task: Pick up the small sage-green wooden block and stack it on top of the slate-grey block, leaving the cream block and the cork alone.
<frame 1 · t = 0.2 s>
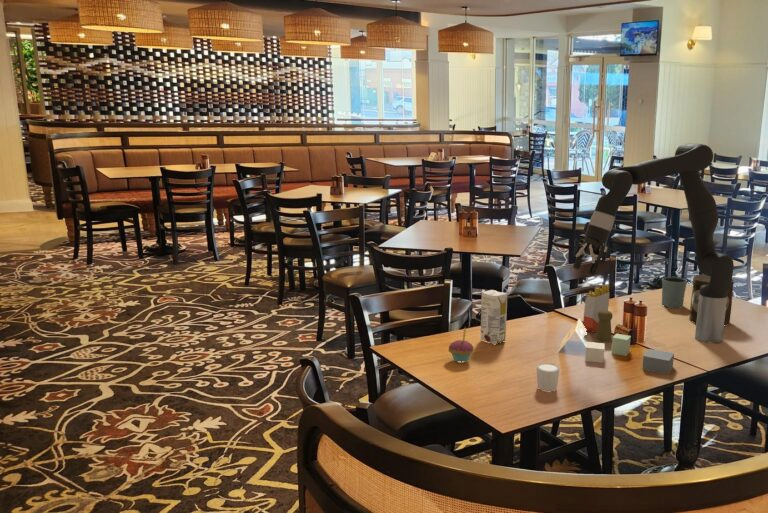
hand: (583, 271, 219), 30 cm above the table, tool tilted 20°, fingers open, 8 cm apart
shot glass: (546, 389, 199), on the table
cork: (603, 339, 242), on the table
wooden container: (709, 321, 262), on the table
slate block: (657, 368, 214), on the table
cupcake: (460, 361, 222), on the table
green tapered bucket: (672, 305, 284), on the table
juice carton: (492, 341, 240), on the table
cream block: (594, 359, 223), on the table
sage block: (620, 352, 228), on the table
french fries container: (594, 330, 253), on the table
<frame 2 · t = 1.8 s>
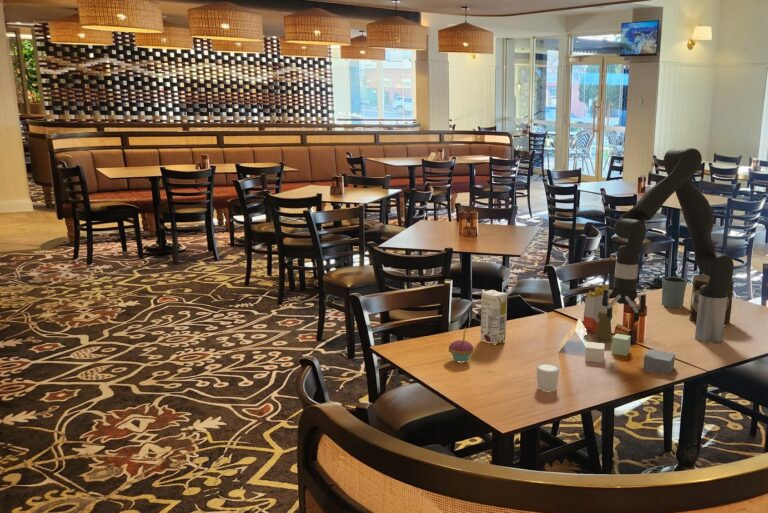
hand: (622, 320, 226), 12 cm above the table, tool pointing down, fingers open, 8 cm apart
nothing on the table moved.
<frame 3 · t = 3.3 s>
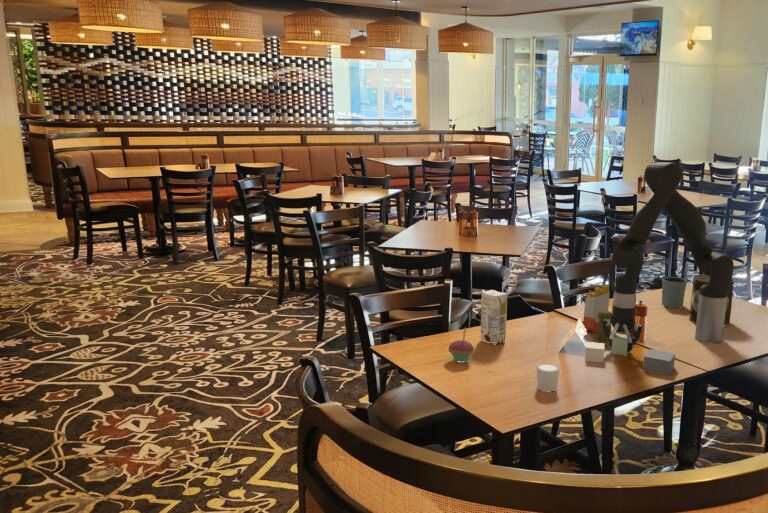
hand: (620, 349, 228), 1 cm above the table, tool pointing down, fingers closed on sage block, 5 cm apart
sage block: (620, 352, 228), on the table, touching gripper
everything else where it was.
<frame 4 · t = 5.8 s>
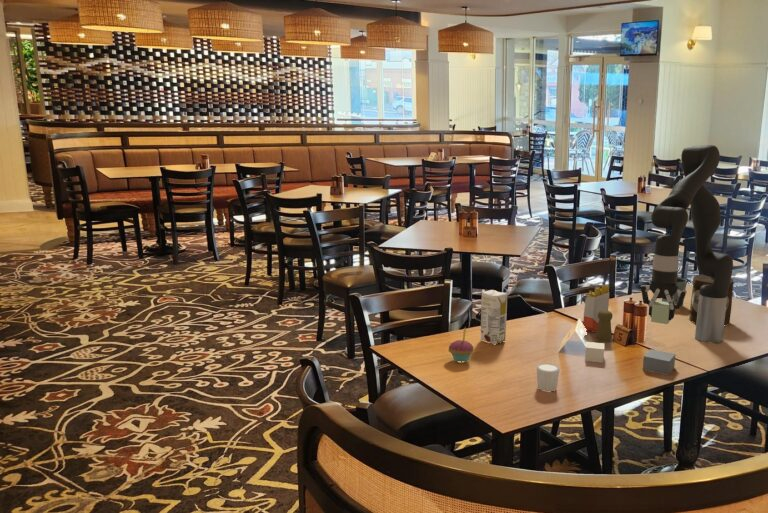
hand: (660, 318, 210), 17 cm above the table, tool pointing down, fingers closed on sage block, 5 cm apart
sage block: (660, 320, 211), point 16 cm above the table, touching gripper
everything else where it was.
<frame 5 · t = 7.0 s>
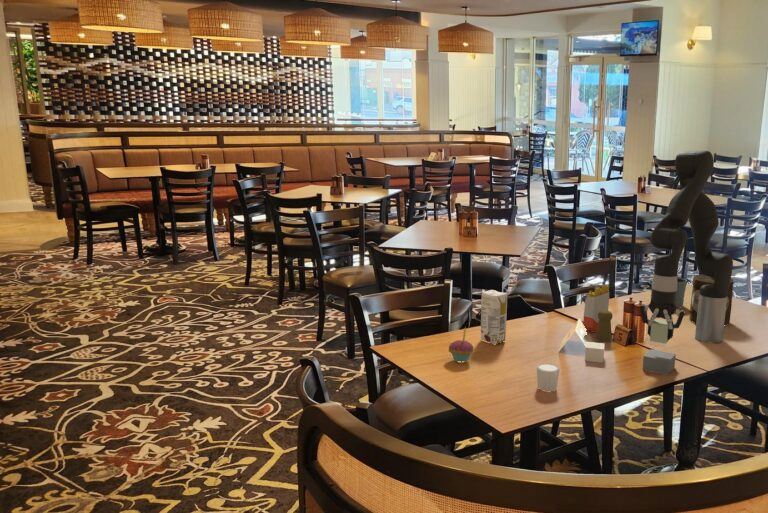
hand: (659, 337, 212), 11 cm above the table, tool pointing down, fingers closed on sage block, 5 cm apart
sage block: (659, 340, 212), point 10 cm above the table, touching gripper
everything else where it was.
when the fingers open (7 cm above the table, at t = 8.2 s): sage block drops 1 cm, resting on slate block.
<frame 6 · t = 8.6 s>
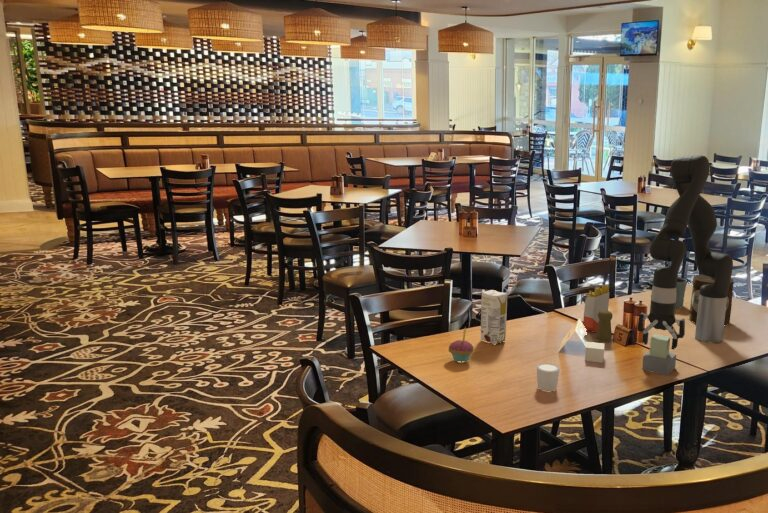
hand: (659, 346, 212), 8 cm above the table, tool pointing down, fingers open, 8 cm apart
slate block: (658, 369, 213), on the table, touching sage block
sage block: (659, 354, 213), point 5 cm above the table, touching slate block
everything else where it was.
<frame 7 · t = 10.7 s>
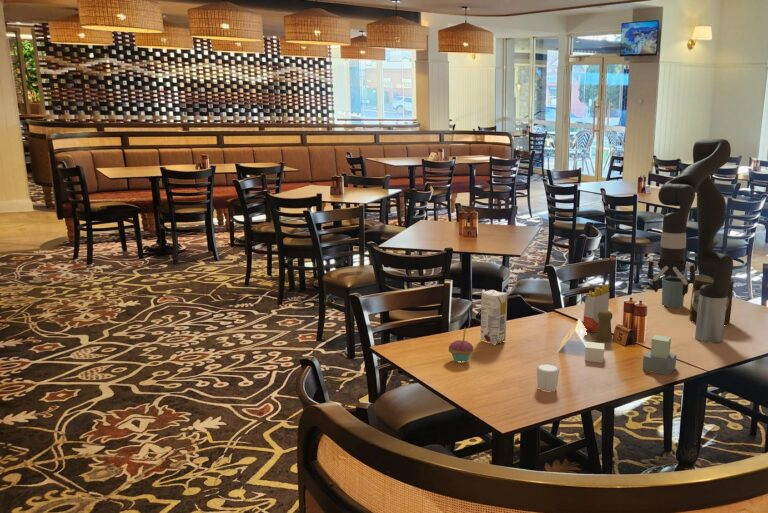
hand: (669, 293, 212), 25 cm above the table, tool pointing down, fingers open, 8 cm apart
nothing on the table moved.
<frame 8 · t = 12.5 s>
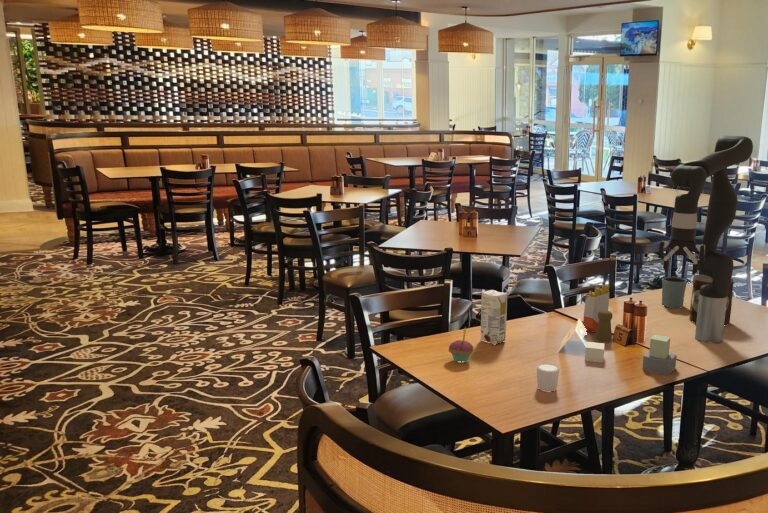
hand: (679, 272, 218), 30 cm above the table, tool pointing down, fingers open, 8 cm apart
slate block: (658, 369, 213), on the table
sage block: (659, 355, 212), point 5 cm above the table
everything else where it was.
at the end: sage block 0.3 cm off-centre on the slate block, point 5.0 cm above the slate block's base; sage block tilted 0°; the gripper is holding nothing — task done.
